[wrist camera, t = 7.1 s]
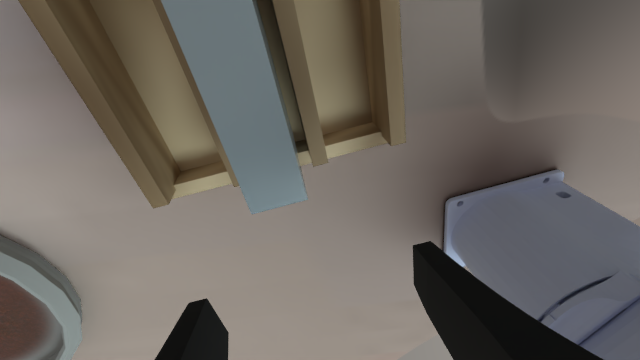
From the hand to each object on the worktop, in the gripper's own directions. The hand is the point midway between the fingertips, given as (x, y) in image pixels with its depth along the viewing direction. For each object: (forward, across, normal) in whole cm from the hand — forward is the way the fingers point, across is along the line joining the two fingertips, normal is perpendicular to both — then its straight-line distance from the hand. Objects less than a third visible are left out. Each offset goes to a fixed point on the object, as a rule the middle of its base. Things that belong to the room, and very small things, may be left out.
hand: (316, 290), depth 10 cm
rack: (+10, +1, -6) cm, 12 cm away
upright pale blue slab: (+9, +1, -6) cm, 11 cm away
